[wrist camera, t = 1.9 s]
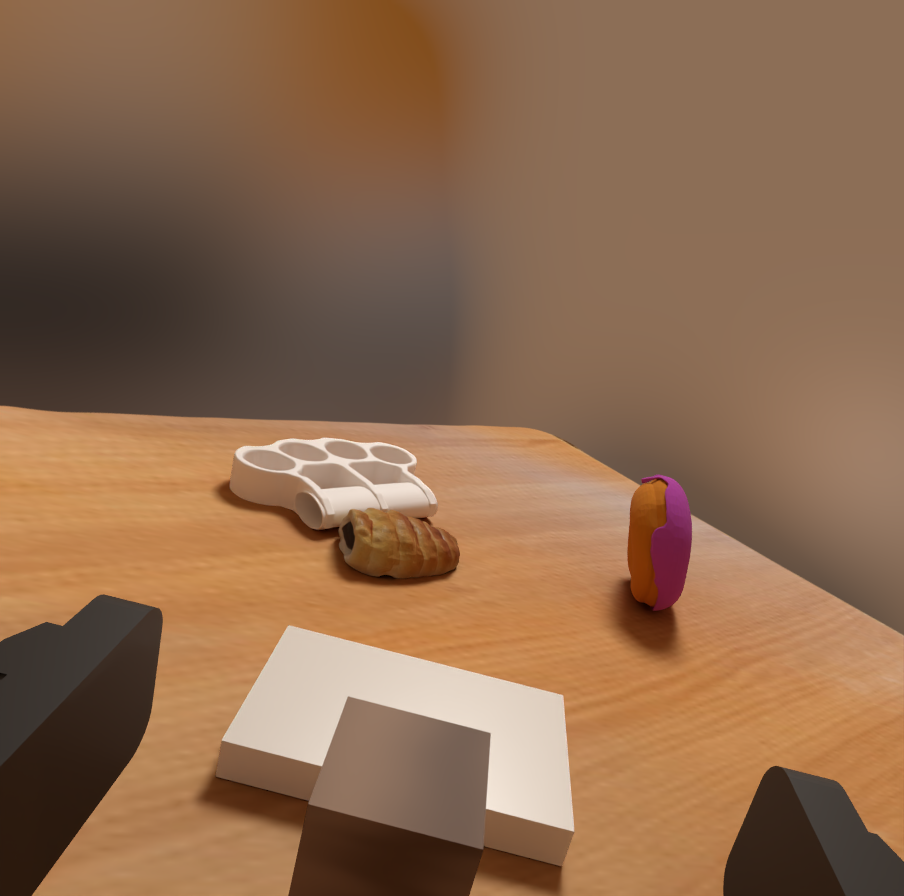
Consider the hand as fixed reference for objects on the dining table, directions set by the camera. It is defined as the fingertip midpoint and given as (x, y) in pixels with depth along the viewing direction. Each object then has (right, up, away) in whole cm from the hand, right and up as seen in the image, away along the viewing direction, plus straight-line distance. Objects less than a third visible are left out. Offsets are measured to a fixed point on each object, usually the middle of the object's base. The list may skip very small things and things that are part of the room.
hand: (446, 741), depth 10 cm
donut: (+15, -8, +53) cm, 55 cm away
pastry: (-5, -5, +49) cm, 49 cm away
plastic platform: (-2, -11, +29) cm, 31 cm away
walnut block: (-4, -15, +17) cm, 23 cm away
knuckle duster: (-10, -1, +58) cm, 59 cm away
